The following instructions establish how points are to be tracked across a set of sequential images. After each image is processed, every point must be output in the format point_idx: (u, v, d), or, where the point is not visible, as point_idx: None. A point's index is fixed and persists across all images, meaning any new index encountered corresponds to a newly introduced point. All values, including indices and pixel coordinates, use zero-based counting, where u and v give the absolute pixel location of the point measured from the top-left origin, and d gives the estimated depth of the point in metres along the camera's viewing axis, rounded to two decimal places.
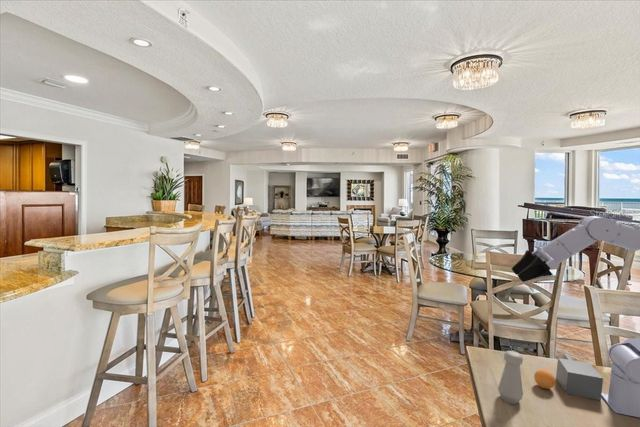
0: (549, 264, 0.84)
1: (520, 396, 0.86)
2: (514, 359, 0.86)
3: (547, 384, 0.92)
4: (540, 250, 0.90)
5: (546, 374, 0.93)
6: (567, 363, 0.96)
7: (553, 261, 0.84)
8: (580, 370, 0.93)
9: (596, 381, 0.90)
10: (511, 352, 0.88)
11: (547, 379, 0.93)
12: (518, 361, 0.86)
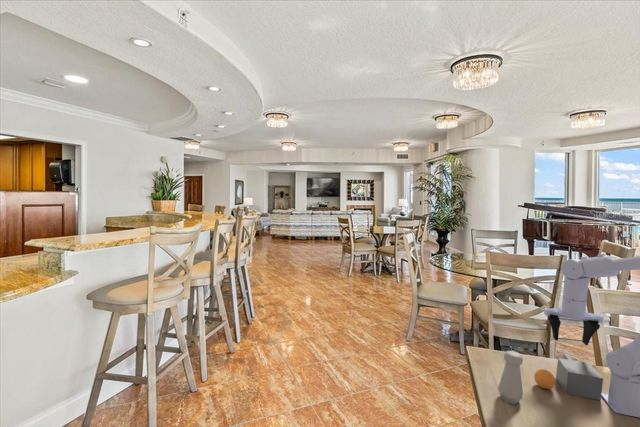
0: (544, 312, 1.03)
1: (520, 396, 0.86)
2: (514, 359, 0.86)
3: (547, 384, 0.92)
4: None
5: (546, 374, 0.93)
6: (567, 363, 0.96)
7: (544, 309, 1.03)
8: (580, 370, 0.93)
9: (596, 381, 0.90)
10: (511, 352, 0.88)
11: (547, 379, 0.93)
12: (518, 361, 0.86)
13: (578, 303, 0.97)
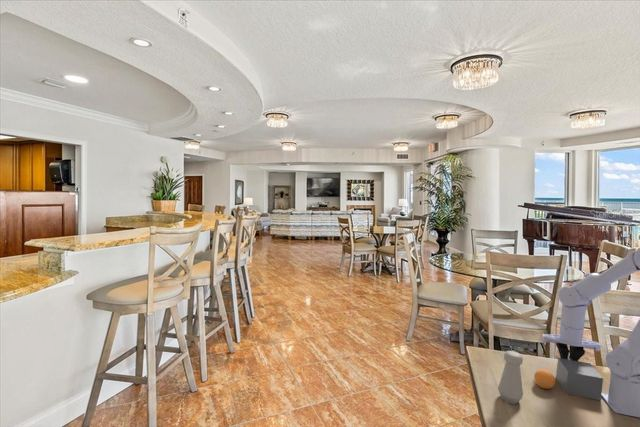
0: (542, 338, 1.04)
1: (520, 396, 0.86)
2: (514, 359, 0.86)
3: (547, 384, 0.92)
4: None
5: (546, 374, 0.93)
6: (567, 363, 0.96)
7: (542, 335, 1.04)
8: (580, 370, 0.93)
9: (596, 381, 0.90)
10: (511, 352, 0.88)
11: (547, 379, 0.93)
12: (518, 361, 0.86)
13: (575, 331, 0.98)
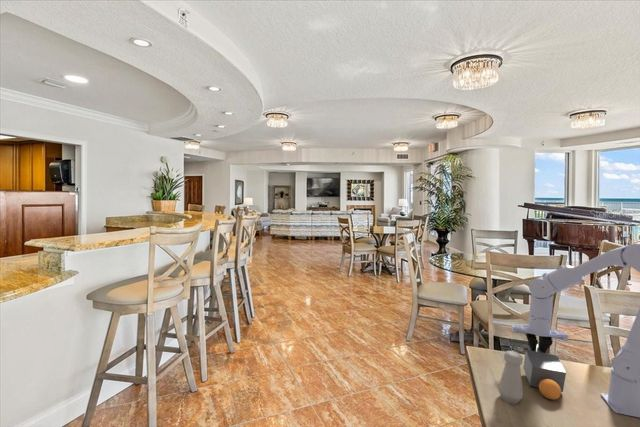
0: None
1: (520, 396, 0.86)
2: (514, 359, 0.86)
3: None
4: None
5: None
6: (533, 356, 0.98)
7: (512, 326, 1.05)
8: (545, 364, 0.94)
9: (559, 375, 0.91)
10: (511, 352, 0.88)
11: None
12: (518, 361, 0.86)
13: (543, 321, 0.99)
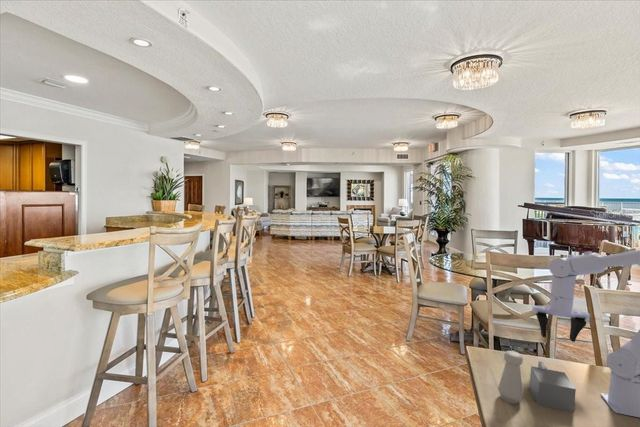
0: (532, 310, 1.05)
1: (520, 396, 0.86)
2: (514, 359, 0.86)
3: None
4: None
5: None
6: (540, 372, 0.91)
7: None
8: (552, 380, 0.88)
9: (568, 392, 0.85)
10: (511, 352, 0.88)
11: None
12: (518, 361, 0.86)
13: (565, 300, 0.99)
